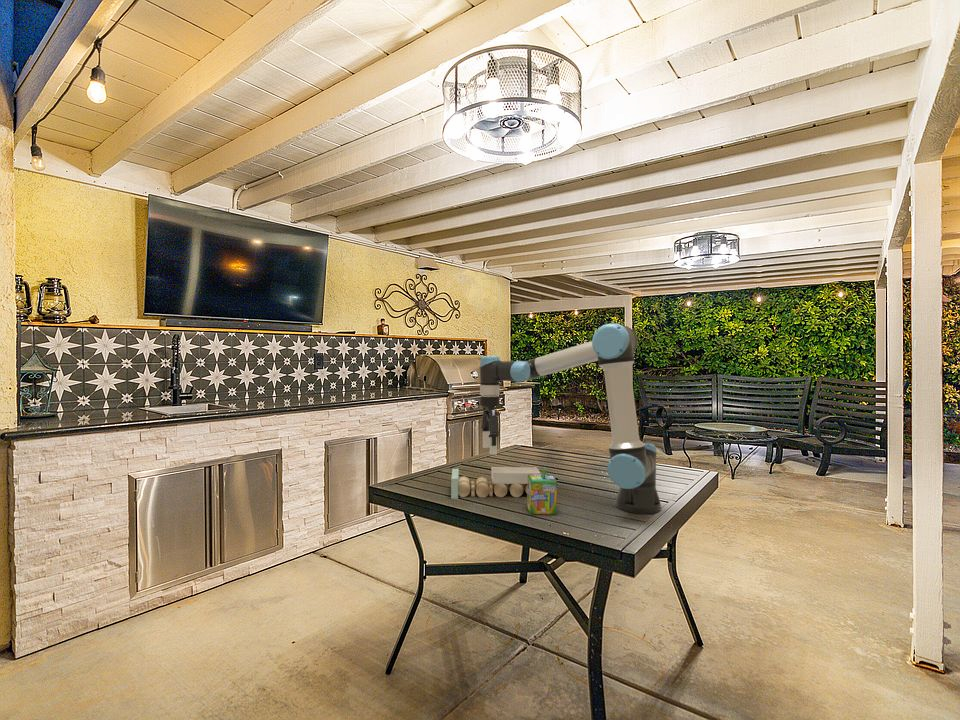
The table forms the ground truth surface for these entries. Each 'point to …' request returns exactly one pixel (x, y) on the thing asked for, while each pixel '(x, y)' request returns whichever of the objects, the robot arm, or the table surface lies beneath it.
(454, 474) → the board
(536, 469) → the slab
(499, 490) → the roller bed
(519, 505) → the table surface
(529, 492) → the chalk box
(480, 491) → the roller
